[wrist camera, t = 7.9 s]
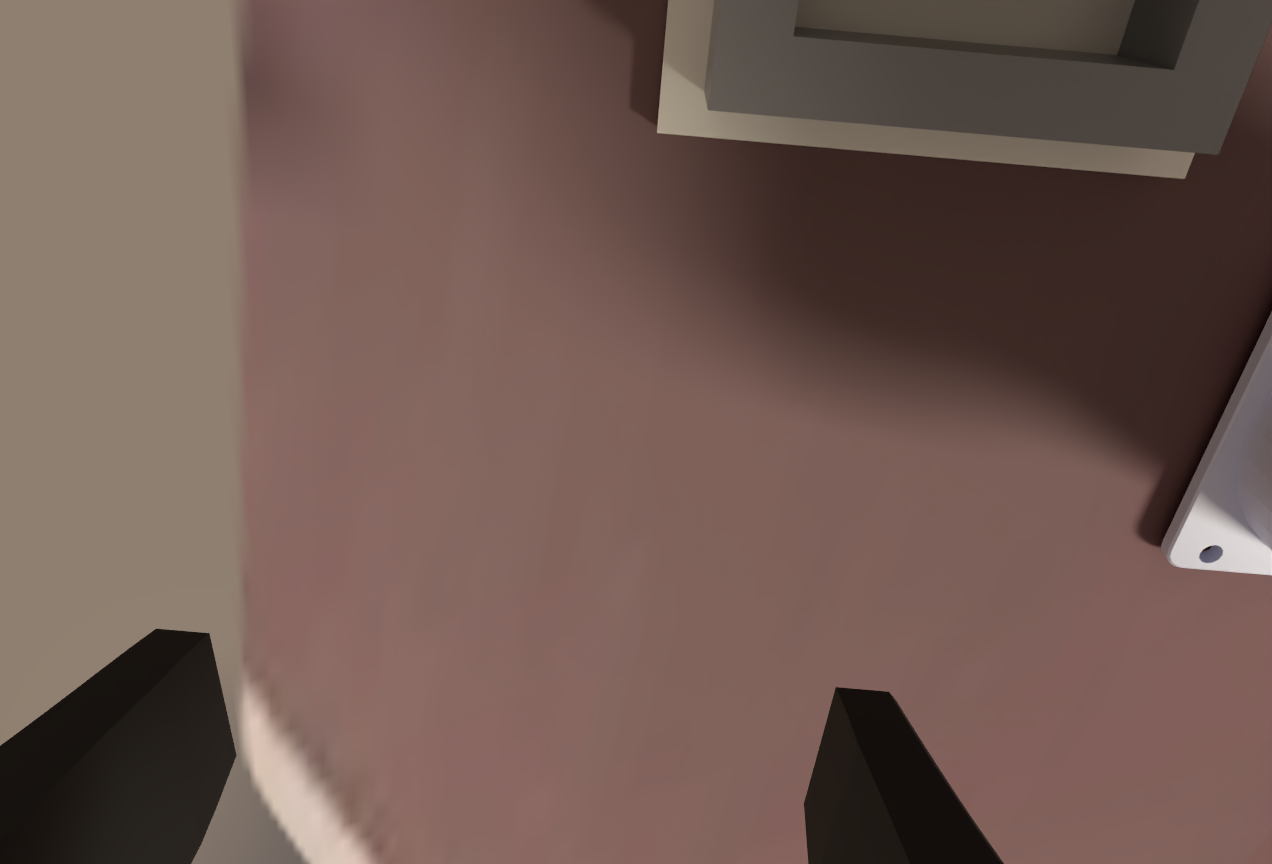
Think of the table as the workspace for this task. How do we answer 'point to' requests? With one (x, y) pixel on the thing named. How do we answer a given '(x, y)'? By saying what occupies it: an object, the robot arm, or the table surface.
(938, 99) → the hub plate
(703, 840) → the table surface
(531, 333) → the table surface
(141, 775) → the robot arm
